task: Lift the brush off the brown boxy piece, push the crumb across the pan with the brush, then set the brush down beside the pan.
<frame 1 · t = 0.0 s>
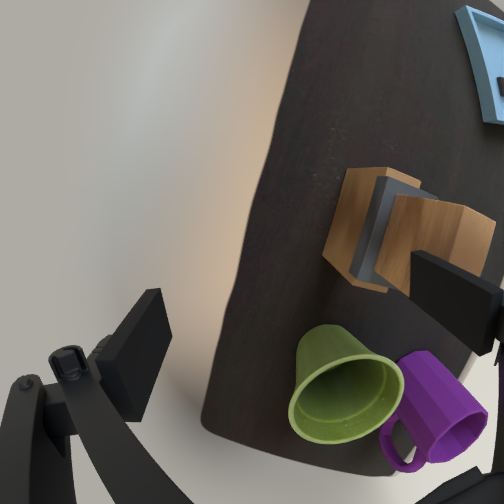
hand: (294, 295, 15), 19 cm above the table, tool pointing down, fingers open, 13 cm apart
plant pot: (322, 347, 37), on the table
brush: (389, 232, 24), point 10 cm above the table, touching brown boxy piece, gripper
pan: (497, 70, 29), on the table
brown boxy piece: (348, 216, 33), on the table
mug: (398, 390, 40), on the table
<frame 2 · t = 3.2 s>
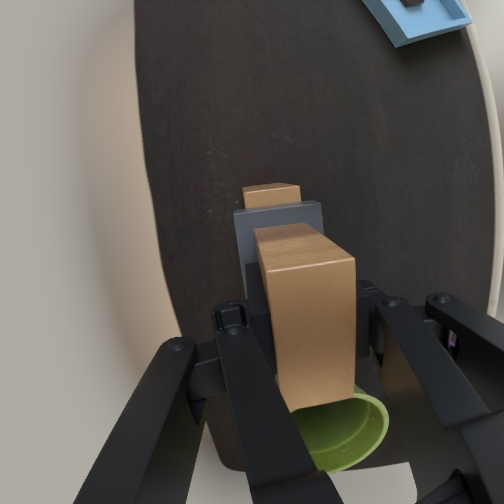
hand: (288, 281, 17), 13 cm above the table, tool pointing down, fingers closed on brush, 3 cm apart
plant pot: (304, 372, 34), on the table
brush: (281, 266, 20), point 10 cm above the table, touching brown boxy piece, gripper
brown boxy piece: (267, 237, 30), on the table
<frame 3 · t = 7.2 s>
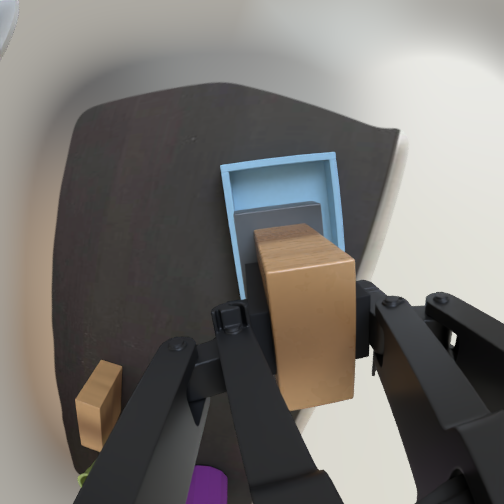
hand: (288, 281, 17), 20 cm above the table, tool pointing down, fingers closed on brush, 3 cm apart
brush: (281, 267, 20), point 17 cm above the table, touching gripper
pan: (285, 232, 37), on the table
brown boxy piece: (111, 387, 42), on the table
mug: (199, 482, 49), on the table
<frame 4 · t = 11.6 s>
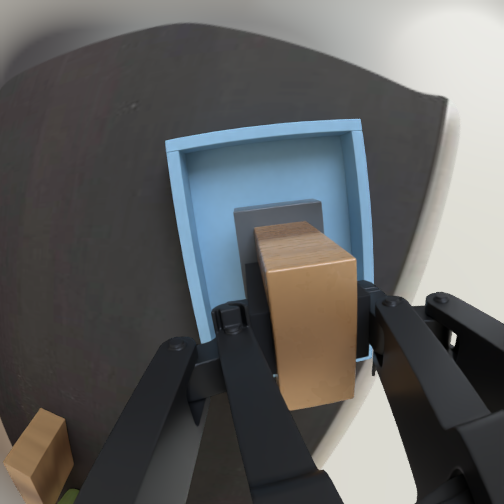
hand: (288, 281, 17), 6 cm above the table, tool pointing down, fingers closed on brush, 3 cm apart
plant pot: (87, 499, 32), on the table
brush: (281, 264, 20), point 3 cm above the table, touching gripper
pan: (277, 251, 23), on the table
brown boxy piece: (57, 438, 28), on the table
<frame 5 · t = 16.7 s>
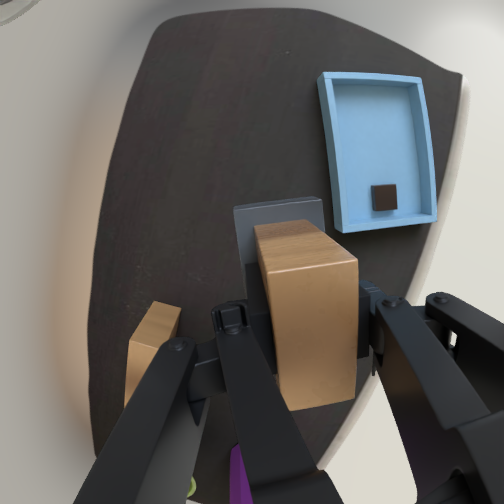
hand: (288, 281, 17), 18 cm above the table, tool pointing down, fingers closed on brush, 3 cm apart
crumb: (382, 196, 34), point 1 cm above the table, touching pan
brush: (281, 262, 20), point 16 cm above the table, touching gripper
pan: (376, 150, 33), on the table
brown boxy piece: (161, 338, 38), on the table
mug: (250, 462, 45), on the table
when the fingers open (3 cm above the table, at t = 20.8 s): brush stays where it is, on the table.
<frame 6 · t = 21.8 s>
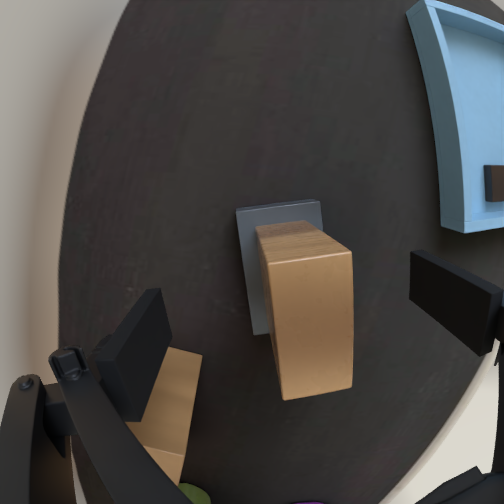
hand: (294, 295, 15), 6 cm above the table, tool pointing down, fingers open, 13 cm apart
plant pot: (178, 493, 27), on the table
crumb: (495, 182, 19), point 1 cm above the table, touching pan
brush: (281, 263, 21), on the table
pan: (484, 117, 19), on the table
brown boxy piece: (171, 397, 23), on the table
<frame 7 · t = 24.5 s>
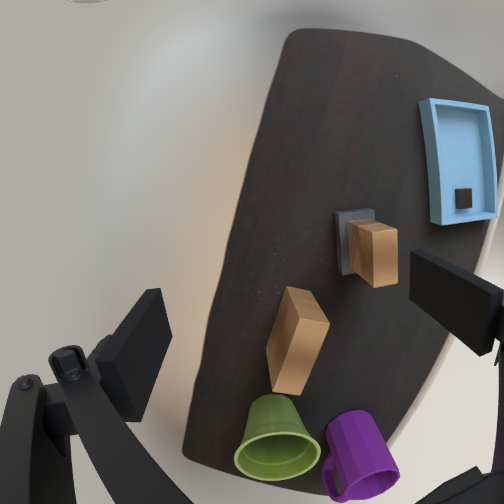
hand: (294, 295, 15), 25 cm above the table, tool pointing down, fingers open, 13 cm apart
plant pot: (270, 408, 47), on the table
crumb: (461, 198, 39), point 1 cm above the table, touching pan
brush: (353, 239, 40), on the table
pan: (457, 161, 38), on the table
brown boxy piece: (287, 321, 43), on the table
mug: (339, 436, 49), on the table
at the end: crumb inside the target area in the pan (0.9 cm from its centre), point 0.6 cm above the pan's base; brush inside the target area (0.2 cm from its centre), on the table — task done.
